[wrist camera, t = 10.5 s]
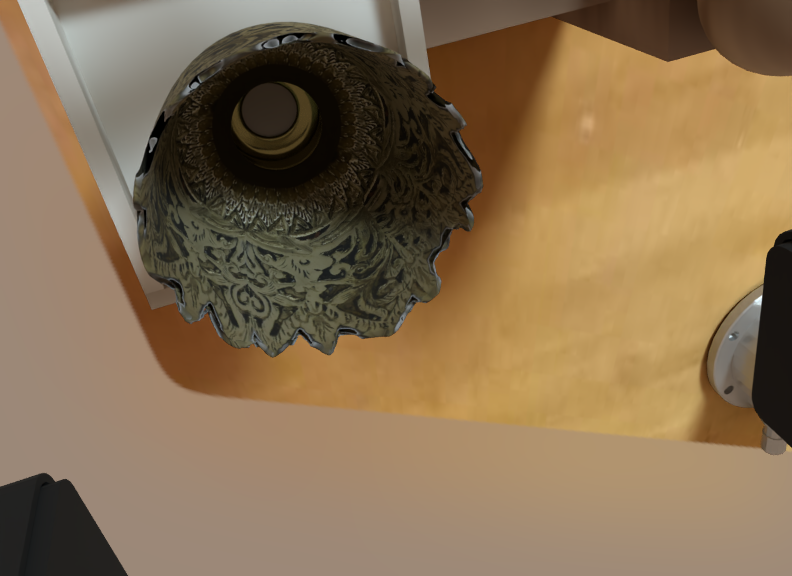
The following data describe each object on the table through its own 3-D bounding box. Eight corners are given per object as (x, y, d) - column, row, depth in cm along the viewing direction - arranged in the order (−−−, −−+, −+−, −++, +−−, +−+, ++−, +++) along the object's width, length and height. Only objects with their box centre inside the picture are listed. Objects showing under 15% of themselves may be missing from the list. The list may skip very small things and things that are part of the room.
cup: (318, 253, 25) (378, 396, 19) (101, 167, 22) (78, 305, 15) (429, 55, 23) (543, 137, 16) (204, -77, 19) (232, -40, 13)
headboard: (585, 20, 42) (911, 139, 24) (152, 134, 38) (151, 375, 20) (579, -190, 36) (994, -240, 18) (71, -80, 33) (-26, -8, 15)
